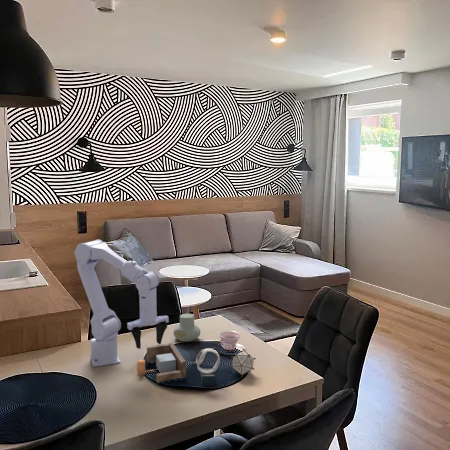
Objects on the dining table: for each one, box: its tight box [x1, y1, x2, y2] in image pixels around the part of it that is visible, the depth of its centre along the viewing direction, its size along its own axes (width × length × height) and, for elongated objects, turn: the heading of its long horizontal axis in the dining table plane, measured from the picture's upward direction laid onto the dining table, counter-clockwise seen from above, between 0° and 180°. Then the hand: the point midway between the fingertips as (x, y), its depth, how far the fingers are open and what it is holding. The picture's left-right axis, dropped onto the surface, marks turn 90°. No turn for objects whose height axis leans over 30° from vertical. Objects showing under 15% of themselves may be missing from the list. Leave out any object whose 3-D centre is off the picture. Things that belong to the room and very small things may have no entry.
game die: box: [229, 348, 256, 378], centre depth 160 cm, size 9×8×10 cm
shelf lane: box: [146, 342, 187, 384], centre depth 163 cm, size 10×17×6 cm, turn 21°
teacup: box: [218, 330, 246, 352], centre depth 180 cm, size 12×12×6 cm
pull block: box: [136, 353, 176, 376], centre depth 161 cm, size 13×6×4 cm, turn 111°
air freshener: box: [173, 313, 201, 343], centre depth 191 cm, size 11×8×10 cm
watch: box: [195, 347, 221, 386], centre depth 154 cm, size 6×8×11 cm
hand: (148, 345), depth 162 cm, fingers open, 7 cm apart
